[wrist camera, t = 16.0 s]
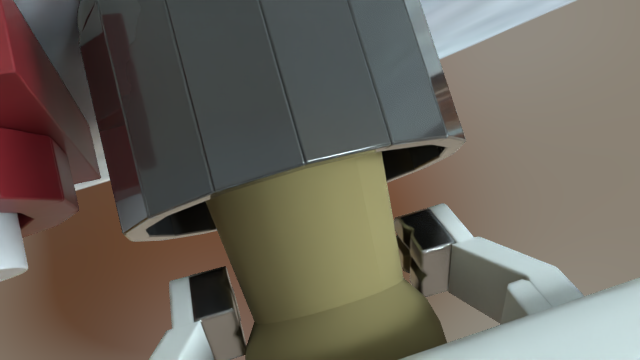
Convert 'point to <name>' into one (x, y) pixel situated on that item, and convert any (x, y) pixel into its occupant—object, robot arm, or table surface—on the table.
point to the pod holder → (255, 97)
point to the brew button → (11, 247)
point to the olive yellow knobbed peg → (324, 266)
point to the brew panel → (38, 132)
